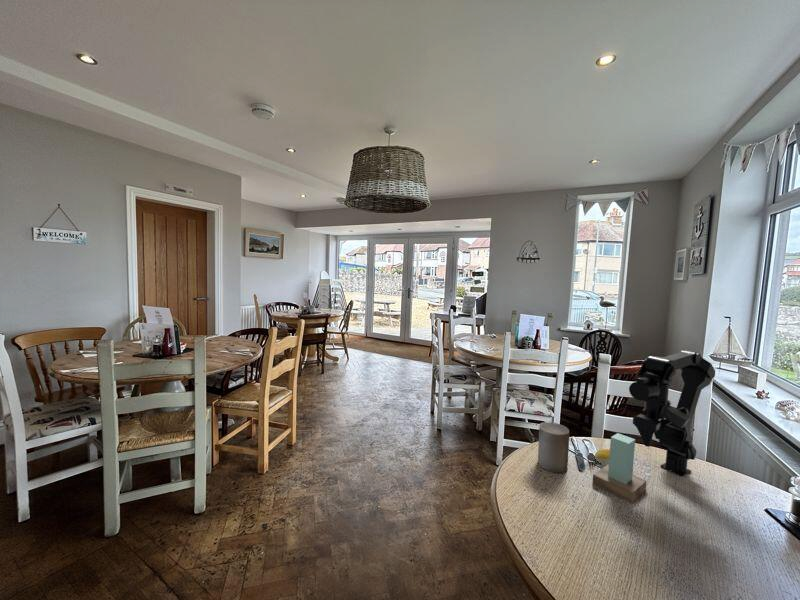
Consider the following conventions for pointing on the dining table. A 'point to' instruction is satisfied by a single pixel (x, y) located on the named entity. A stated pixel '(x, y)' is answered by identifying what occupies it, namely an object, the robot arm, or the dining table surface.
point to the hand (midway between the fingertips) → (652, 442)
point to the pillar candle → (553, 447)
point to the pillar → (621, 458)
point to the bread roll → (603, 456)
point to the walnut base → (619, 485)
